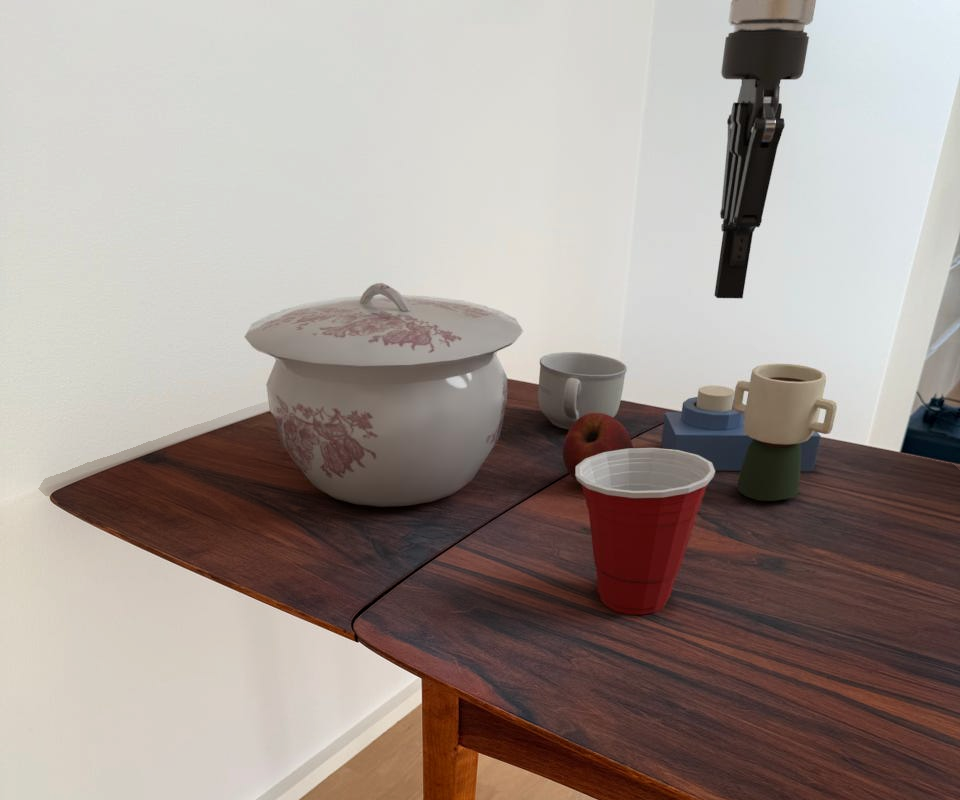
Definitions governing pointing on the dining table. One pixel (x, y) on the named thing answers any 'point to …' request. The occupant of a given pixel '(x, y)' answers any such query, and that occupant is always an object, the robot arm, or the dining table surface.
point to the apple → (593, 439)
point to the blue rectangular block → (719, 437)
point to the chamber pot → (387, 392)
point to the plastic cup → (641, 521)
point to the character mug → (779, 426)
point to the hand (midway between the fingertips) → (728, 296)
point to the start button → (715, 398)
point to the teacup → (579, 386)
